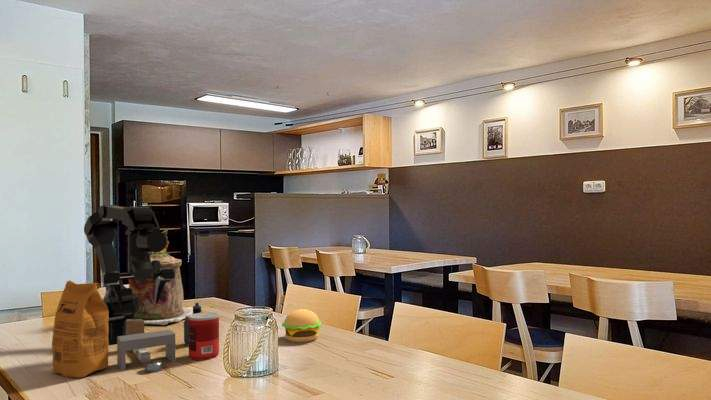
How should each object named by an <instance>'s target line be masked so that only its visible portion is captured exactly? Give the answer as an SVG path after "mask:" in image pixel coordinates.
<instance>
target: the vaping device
mask: <svg viewBox="0 0 711 400" xmlns="http://www.w3.org/2000/svg"><path fill="white" fill-rule="evenodd" d="M194 303H195V304H194V305H193V306H192V307H193V314H196V313H202V305H201V304H200V303H199V302H194ZM189 316H190V315H188V316H185V319H184V322H183V343H184V345H186V346H189V327H188V322H189Z"/></svg>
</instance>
